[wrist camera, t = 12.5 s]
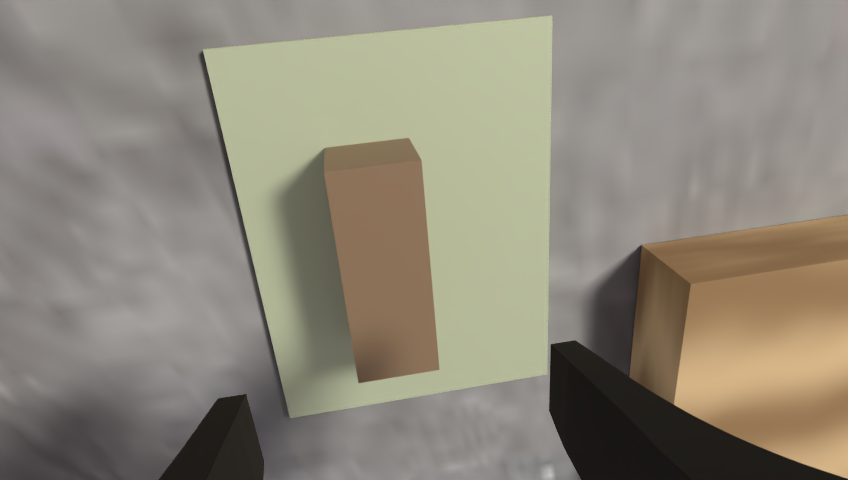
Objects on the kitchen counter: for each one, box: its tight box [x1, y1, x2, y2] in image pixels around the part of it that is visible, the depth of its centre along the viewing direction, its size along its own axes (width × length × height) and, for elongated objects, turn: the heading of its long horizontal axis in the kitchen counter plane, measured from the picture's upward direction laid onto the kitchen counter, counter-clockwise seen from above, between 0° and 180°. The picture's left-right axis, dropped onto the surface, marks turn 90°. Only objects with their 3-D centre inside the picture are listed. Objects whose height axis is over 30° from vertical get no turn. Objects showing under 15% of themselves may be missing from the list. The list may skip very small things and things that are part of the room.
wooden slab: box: [629, 215, 848, 479], centre depth 26 cm, size 21×12×4 cm, turn 5°
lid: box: [203, 15, 552, 418], centre depth 20 cm, size 15×12×4 cm
